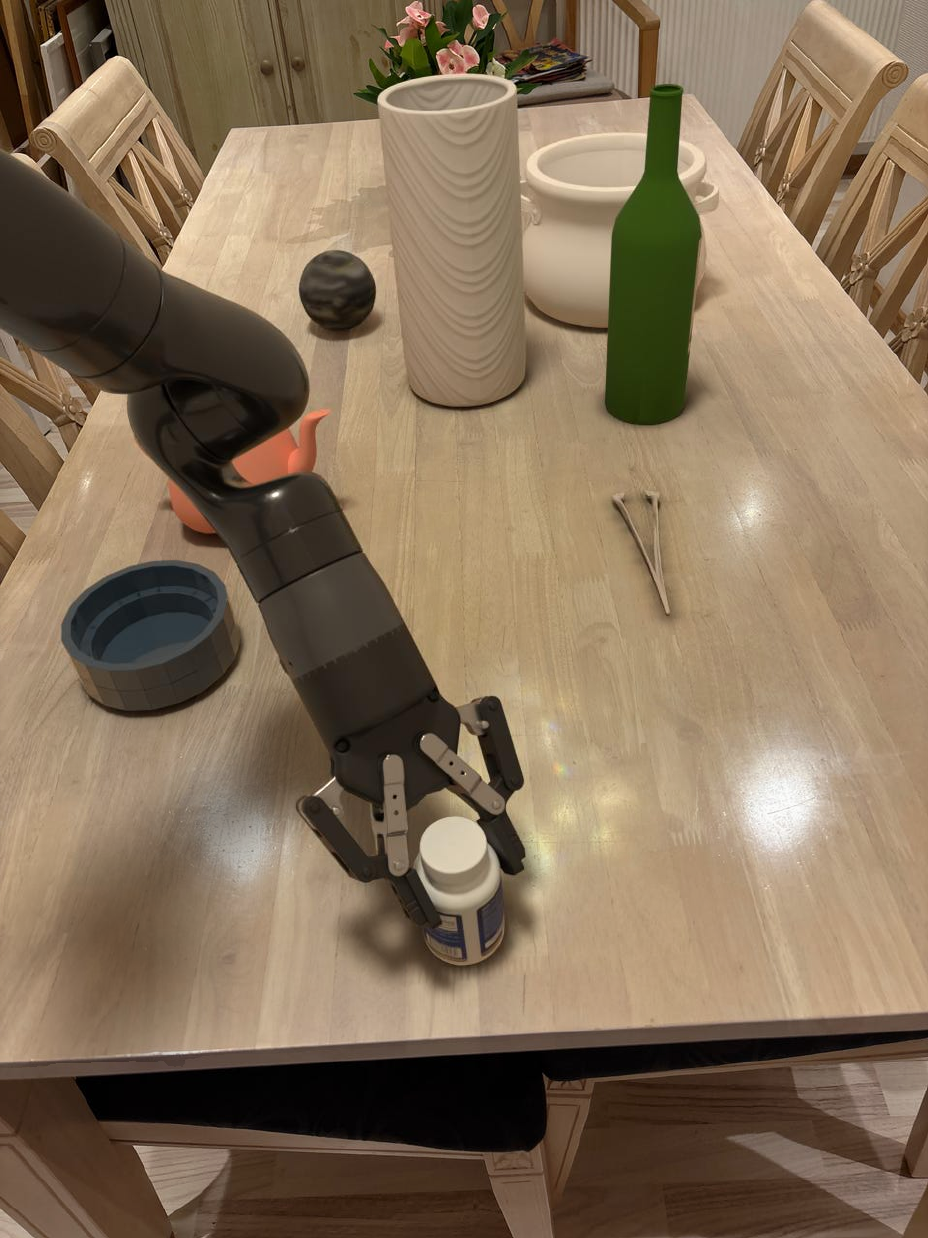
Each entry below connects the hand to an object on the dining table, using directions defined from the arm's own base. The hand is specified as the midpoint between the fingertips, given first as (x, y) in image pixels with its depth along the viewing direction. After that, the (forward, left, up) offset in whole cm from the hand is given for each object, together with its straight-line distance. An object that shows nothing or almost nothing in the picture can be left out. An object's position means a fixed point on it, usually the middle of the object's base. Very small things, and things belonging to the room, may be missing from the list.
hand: (474, 897), depth 58 cm
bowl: (-6, +39, -6) cm, 40 cm away
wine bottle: (+54, +43, -6) cm, 69 cm away
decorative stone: (+38, +84, -6) cm, 92 cm away
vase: (+42, +61, -6) cm, 74 cm away
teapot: (+10, +54, -6) cm, 55 cm away
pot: (+70, +67, -6) cm, 97 cm away
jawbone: (+36, +23, -6) cm, 43 cm away
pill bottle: (0, +2, -6) cm, 7 cm away
